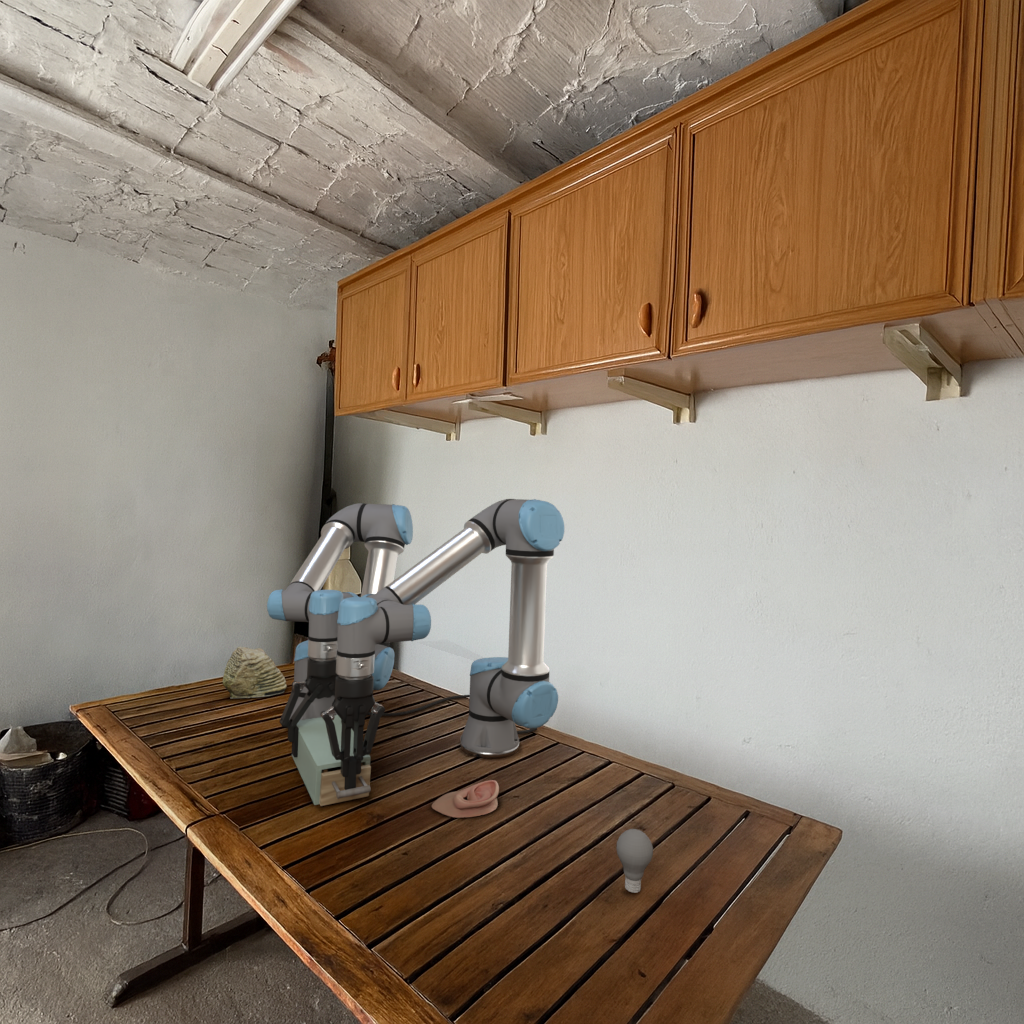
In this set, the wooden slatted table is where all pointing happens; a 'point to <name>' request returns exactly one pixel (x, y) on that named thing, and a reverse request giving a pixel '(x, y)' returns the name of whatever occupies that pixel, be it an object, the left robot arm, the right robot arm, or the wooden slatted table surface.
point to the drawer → (335, 785)
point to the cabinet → (318, 752)
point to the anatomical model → (469, 800)
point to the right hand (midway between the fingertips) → (349, 790)
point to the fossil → (252, 674)
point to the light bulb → (634, 857)
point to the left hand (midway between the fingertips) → (321, 750)
